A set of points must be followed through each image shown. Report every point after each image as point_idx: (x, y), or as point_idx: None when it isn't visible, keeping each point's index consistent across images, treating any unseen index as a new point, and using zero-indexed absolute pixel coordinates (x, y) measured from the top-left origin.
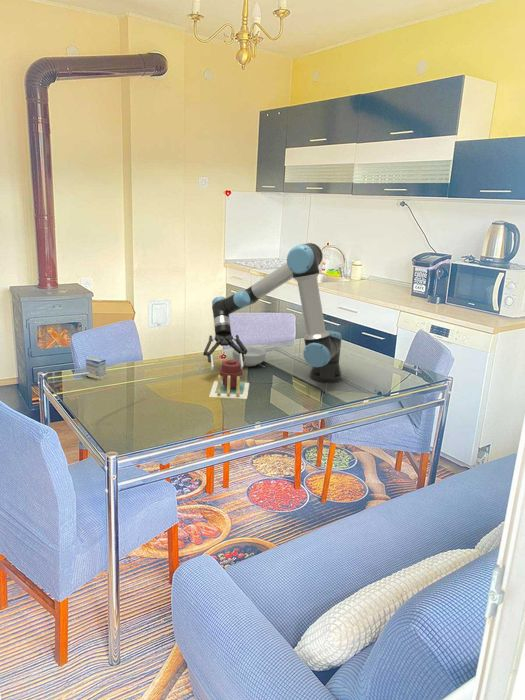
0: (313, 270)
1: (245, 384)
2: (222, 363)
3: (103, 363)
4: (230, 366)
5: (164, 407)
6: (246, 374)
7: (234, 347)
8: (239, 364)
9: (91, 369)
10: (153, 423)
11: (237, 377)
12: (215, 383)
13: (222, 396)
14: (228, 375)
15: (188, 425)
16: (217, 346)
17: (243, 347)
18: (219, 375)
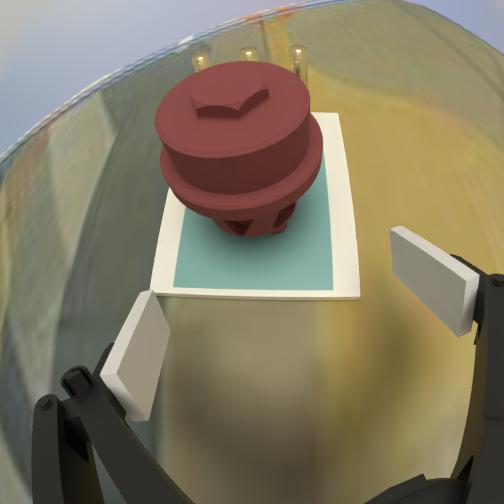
0: None
1: (172, 263)
2: (301, 85)
3: None
4: (236, 61)
5: (436, 79)
6: (166, 463)
7: (164, 475)
8: (169, 94)
9: None
10: (409, 34)
11: (205, 54)
12: (346, 255)
13: None
14: (250, 53)
15: (338, 25)
16: (460, 458)
17: (47, 442)
18: (298, 48)
